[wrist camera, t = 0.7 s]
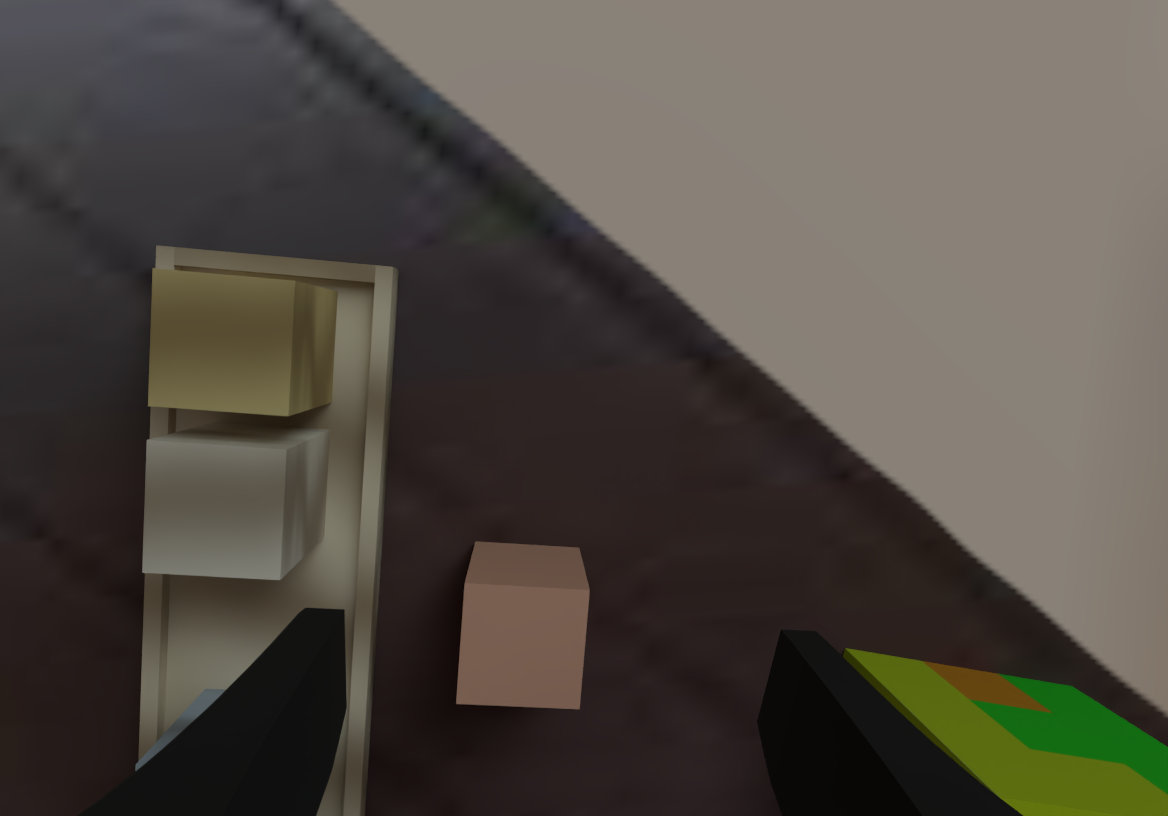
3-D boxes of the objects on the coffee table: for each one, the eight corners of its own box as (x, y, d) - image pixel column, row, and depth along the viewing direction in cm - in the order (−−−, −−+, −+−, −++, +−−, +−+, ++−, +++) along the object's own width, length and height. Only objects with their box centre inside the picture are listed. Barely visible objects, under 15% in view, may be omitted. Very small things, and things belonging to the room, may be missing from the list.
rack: (357, 930, 30) (319, 1066, 24) (147, 927, 29) (58, 1065, 24) (398, 270, 28) (366, 252, 22) (172, 249, 27) (80, 226, 21)
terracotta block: (570, 646, 29) (579, 709, 25) (468, 641, 29) (456, 704, 24) (579, 547, 29) (589, 590, 24) (475, 541, 29) (464, 582, 24)
